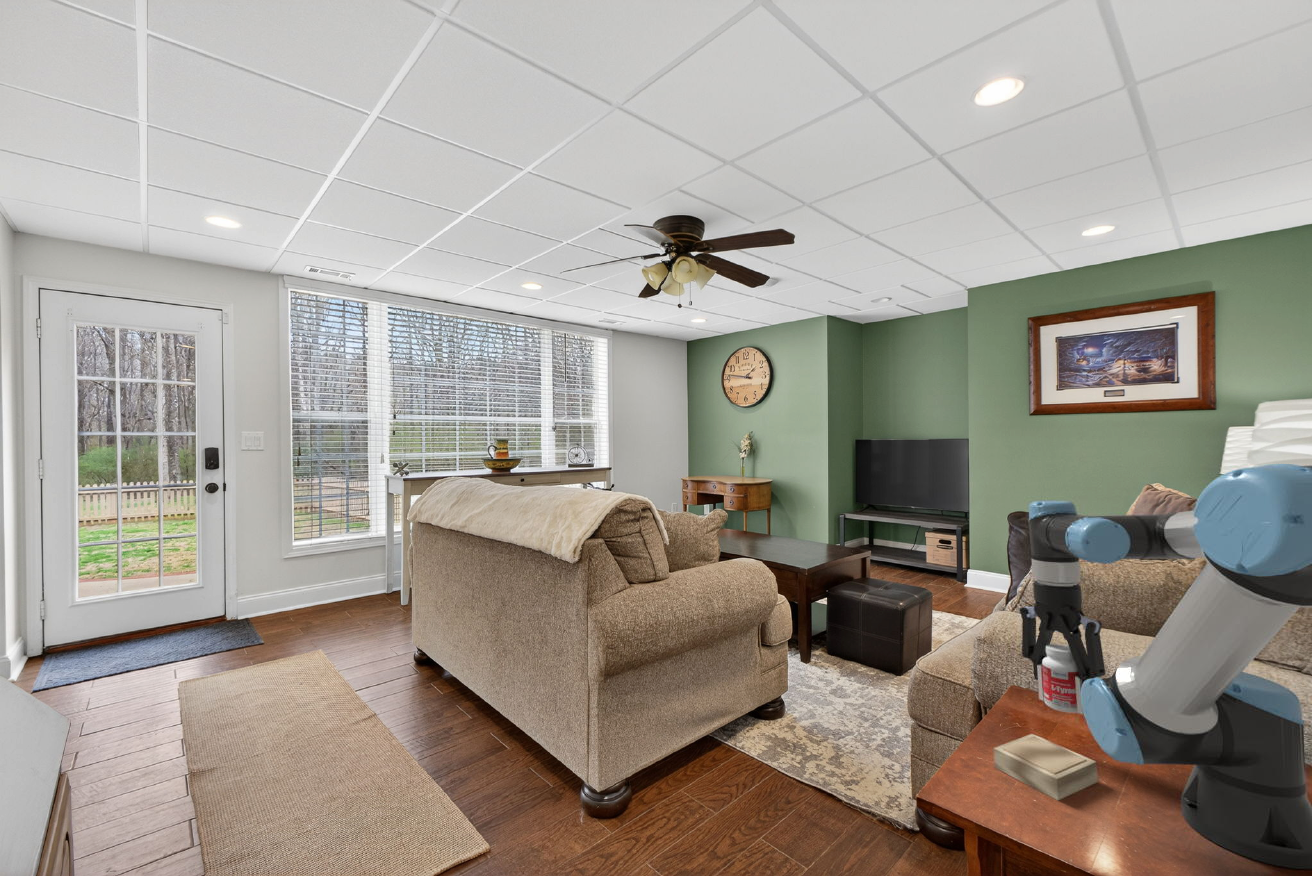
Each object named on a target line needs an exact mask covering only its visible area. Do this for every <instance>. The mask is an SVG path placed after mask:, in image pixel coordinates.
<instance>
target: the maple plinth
mask: <svg viewBox="0 0 1312 876" xmlns="http://www.w3.org/2000/svg"><path fill="white" fill-rule="evenodd" d="M993 762H994V763H993V766H994V769H995V770H998V771H1000V772H1003V773H1005V774H1006V775H1008V776H1010V777H1011V778H1014V779H1016V780H1017V781H1020V782H1022V783H1024V784H1026V785H1027V786H1029V787H1031V788H1033V789H1035V790H1037V791H1039V792H1041V793H1043V794H1045V795H1046V796H1049V797H1051V798H1053V799H1054V800H1056V801H1060V800H1063V799H1065V798H1066V797H1069V796H1070V795H1071V796H1072V795H1073V794H1076V793H1077V792H1080V791H1082V790H1083V789H1085V788H1086V789H1087V787H1090V786H1093V785H1095V784H1096V783H1098V770H1097V769H1098V767H1097V761H1096V760H1093V759H1091V758H1089V757H1086V756H1085V755H1082V754H1080V753H1077V752H1075V751H1073V750H1070V749H1068V748H1066V747H1063V746H1061V745H1060V744H1057V743H1055V742H1052V741H1050V740H1047V739H1046V738H1043V737H1041V736H1038V735H1035V734H1033V733H1030V734H1027V735H1026V736H1025V735H1024V736H1022V737H1020V738H1017V739H1014V740H1011V741H1008V742H1007V743H1004V744H1000V745H999V746H996V747H995V746H994V747H993Z"/></svg>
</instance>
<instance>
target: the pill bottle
mask: <svg viewBox="0 0 1312 876" xmlns="http://www.w3.org/2000/svg"><path fill="white" fill-rule="evenodd" d="M1046 654H1047V656H1046V657H1045V658H1044V659H1043V660H1042V668H1043V686H1044V703H1045V705H1046V706H1048V708H1051V709H1052V710H1055V711H1058V712H1063V713H1069V714H1078V713H1077V698H1076V682H1075V677H1076V676H1079V675H1080V674H1079V672H1078V669H1077V666H1076V664H1075V661H1074V658H1073V656H1072V653H1071V650H1070V648H1069V645H1066V644H1065V645H1064V644H1059V643H1058V644H1057V643H1056V644H1055V643H1052V644H1051V643H1050V644H1049V645H1046Z"/></svg>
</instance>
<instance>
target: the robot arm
mask: <svg viewBox="0 0 1312 876" xmlns="http://www.w3.org/2000/svg"><path fill="white" fill-rule="evenodd" d="M1027 520H1028V521H1027V522H1028V527H1029V540H1030V550H1031V551H1030V552H1031V553H1030V554H1031V570H1032V571H1031V572H1032V575H1031V576H1032V578H1033V579H1034V580H1035V581H1033V584H1032V587H1033V599H1034V600H1035V604H1034V605H1033V606H1031V605H1027V606H1024V607H1020V608H1019V612H1020V617H1021V620H1022V621H1021V622H1022V625H1021V628H1022V629H1021V631H1022V632H1021V633H1022V634H1021V635H1022V636H1021V637H1022V638H1021V655H1022V657H1023V658H1026V659H1029V660H1030V661H1031V662H1032V666H1033V677H1034V679H1035V681H1037V685H1038V700H1041V701H1044V686H1043V668H1042V660H1043V659H1044V658H1045V657H1046V656H1048V655H1047V654H1046V645H1049V644H1051V642H1052V639H1053V637H1054V633H1055V632H1058V633H1060V634H1062V636H1063V638H1064V639H1065V640H1066V642H1067V644H1068V645H1067V646H1069V648H1070V650H1071V653H1072V656H1073V658H1074V661H1075V664H1076V666H1077V669H1078V672H1079V674H1080V675H1079V676H1076V677H1075V682H1076V698H1077V713H1076V714H1080V715H1083V716H1084V718H1085V721H1086V724H1087V726H1088V728H1089V731H1090V732H1091V735H1092V737H1093V738H1094V740H1095V741H1096V743H1097V745H1099V747H1100V748H1101V750H1102V752H1104V753H1105V754H1106V755H1107V756H1109V757H1110V758H1112V759H1113V760H1114V761H1117V762H1120V763H1126V764H1127V763H1128V764H1136V765H1139V766H1143V765H1181V766H1182V765H1184V766H1185V765H1186V766H1193V767H1192V770H1191V773H1190V775H1189V776H1188V779H1187V782H1186V784H1185V786H1184V789H1183V792H1182V794H1181V797H1180V806H1181V815H1182V818H1183V819H1184V820H1185V822H1186V823H1187V824H1188V825H1189V826H1190V827H1191V828H1192V829H1193V830H1195V831H1196V832H1197V833H1198V834H1200V835H1202V836H1203V837H1205V838H1206V839H1207V840H1209V841H1211V842H1213V843H1215V844H1216V845H1219V846H1221V847H1222V848H1225V849H1227V850H1229V851H1232V852H1234V853H1236V854H1238V855H1241V856H1243V857H1247V858H1248V859H1252V860H1255V861H1258V862H1262V863H1265V864H1269V865H1273V866H1277V867H1278V866H1279V867H1283V868H1289V869H1296V870H1297V869H1299V870H1311V869H1312V805H1311V802H1310V800H1309V798H1308V795H1307V794H1308V793H1307V783H1306V782H1307V781H1306V780H1307V779H1306V778H1307V777H1306V760H1305V759H1306V758H1305V757H1306V756H1305V754H1306V753H1305V735H1304V734H1305V730H1304V729H1305V727H1304V726H1305V725H1306V724H1305V723H1306V722H1305V720H1304V719H1303V715H1302V706H1301V705H1302V704H1301V701H1300V699H1299V697H1298V696H1297V695H1296V693H1294V691H1292V690H1291V689H1290V688H1287V687H1285V686H1284V685H1282V684H1280V683H1277V682H1275V681H1273V680H1270V679H1268V678H1264V677H1262V676H1260V675H1259V676H1258V675H1255V674H1252V673H1248V672H1245V669H1247V667H1248V666H1249V665H1250V663H1252V662H1253V660H1254V659H1255V658H1256V657H1257V656H1258V655H1259V654H1260V652H1262V650H1263V649H1265V647H1266V646H1267V645H1268V644H1269V642H1271V640H1272V639H1273V638H1274V637H1275V636H1276V635H1277V633H1278V632H1279V631H1280V630H1281V629H1282V628H1283V627H1284V626H1285V625H1286V624H1287V623H1288V622H1289V620H1290V619H1292V617H1293V616H1294V615H1295V614H1296V612H1297V611H1298V610H1299V609H1300V608H1304V609H1307V608H1311V609H1312V465H1298V464H1289V463H1274V464H1264V465H1260V466H1255V467H1244V468H1238V469H1233V470H1231V471H1228V472H1226V473H1223V474H1221V475H1220V476H1218V477H1217V478H1215V479H1213V480H1212V481H1211V482H1210V483H1208V484H1207V486H1206V487H1205V488H1204V489H1203V490H1202V492H1201V493H1200V494H1199V496H1198V499H1197V500H1196V503H1195V505H1194V510H1186V511H1179V512H1169V513H1163V514H1162V513H1161V514H1141V515H1140V514H1138V515H1134V514H1133V515H1131V514H1130V515H1129V514H1128V515H1127V514H1126V515H1081V514H1078V513H1077V508H1076V505H1075V504H1074V502H1072V501H1069V500H1033V501H1032V502H1030V503H1029V507H1028V519H1027ZM1201 558H1203V559H1204V560H1205V561H1206V564H1205V565H1204V567H1203V568H1202V569H1201V571H1200V572H1199V574H1198V575H1197V577H1196V578H1195V579H1194V581H1193V582H1192V584H1191V586H1189V588H1188V589H1187V590H1186V592H1185V594H1184V596H1182V598H1181V599H1180V602H1178V604H1177V606H1176V607H1175V608H1174V609H1173V611H1172V613H1171V614H1170V615H1169V617H1168V618H1167V620H1166V621H1165V623H1164V624H1163V626H1162V627H1161V628H1160V630H1159V631H1158V632H1157V634H1156V636H1155V637H1154V638H1153V640H1152V641H1151V642H1150V644H1149V646H1148V647H1147V649H1146V650H1145V651H1144V652H1143V654H1142V656H1136V657H1134V656H1133V657H1131V658H1128V659H1125V660H1124V661H1122V662H1121V663H1120V664H1119V665H1118V667H1117V668H1116V670H1115V671H1113V674H1112V675H1111V676H1110V677H1107V678H1101V677H1104V676H1106V668H1105V667H1106V666H1105V662H1104V661H1105V660H1104V654H1103V648H1102V641H1101V630H1102V626H1103V624H1102V622H1101V621H1100V620H1093V619H1091V618H1088V617H1086V616H1085V614H1084V612H1083V611H1082V604H1083V600H1082V599H1083V598H1082V595H1083V594H1082V586H1081V585H1080V584H1079V583H1080V582H1081V571H1080V570H1081V569H1080V560H1082V561H1086V562H1088V563H1093V564H1095V563H1097V564H1104V565H1105V564H1106V565H1108V564H1113V563H1114V564H1115V563H1117V562H1118V561H1121V560H1143V559H1144V560H1175V559H1176V560H1195V559H1201ZM1037 618H1038V619H1039V620H1040V622H1039V627H1038V636H1037ZM1081 624H1082V630H1084V640H1085V641H1084V642H1085V644H1084V642H1083V640H1082V632H1081V629H1080V627H1079V626H1081ZM1044 702H1045V701H1044Z"/></svg>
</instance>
